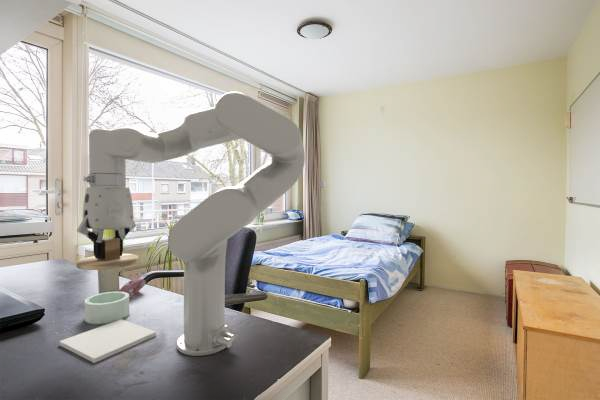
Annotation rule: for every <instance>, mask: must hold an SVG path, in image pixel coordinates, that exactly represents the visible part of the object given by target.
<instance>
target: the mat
mask: <svg viewBox="0 0 600 400" xmlns="http://www.w3.org/2000/svg"><path fill="white" fill-rule="evenodd" d="M156 336H157V331H155V330H152V329H150V328H147V327H144V326H141V325H138V324H135V323H133V322H130V321H128V320H124V319H120V320H117V321H115V322H112V323H107V324H102V325H101V326H98V327H96V328H93V329H90V330H87V331H84V332H81V333H79V334H76V335H73V336H70V337H67V338H65V339H62V340H59V347H62V348H64V349H66V350H68V351H70V352H72V353H74V354H75V355H78V356H80V357H81V358H83V359H85V360H88V361H90V362H91V363H93V364H96V363H98V362H101V361H102V360H105V359H107V358H109V357H111V356H113V355H116V354H118V353H121V352H122V351H125V350H127V349H130V348H131V347H133V346H136V345H138V344H141V343H143V342H145V341H147V340H150V339H151V338H152V339H153V338H154V337H156Z"/></svg>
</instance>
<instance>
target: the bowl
mask: <svg viewBox="0 0 600 400" xmlns="http://www.w3.org/2000/svg"><path fill="white" fill-rule="evenodd" d="M83 305H84V321H85V323H86V324H90V325H106V324H109V323H112V322H115V321H117V320H120V319H122V320H124V319H125V318H126V317H128V316H129V315H130V297H129V293H126V292H106V293H100V294H99V293H97V294H93V295H91V296H88V297H86V298H85V299H84V304H83Z"/></svg>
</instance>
